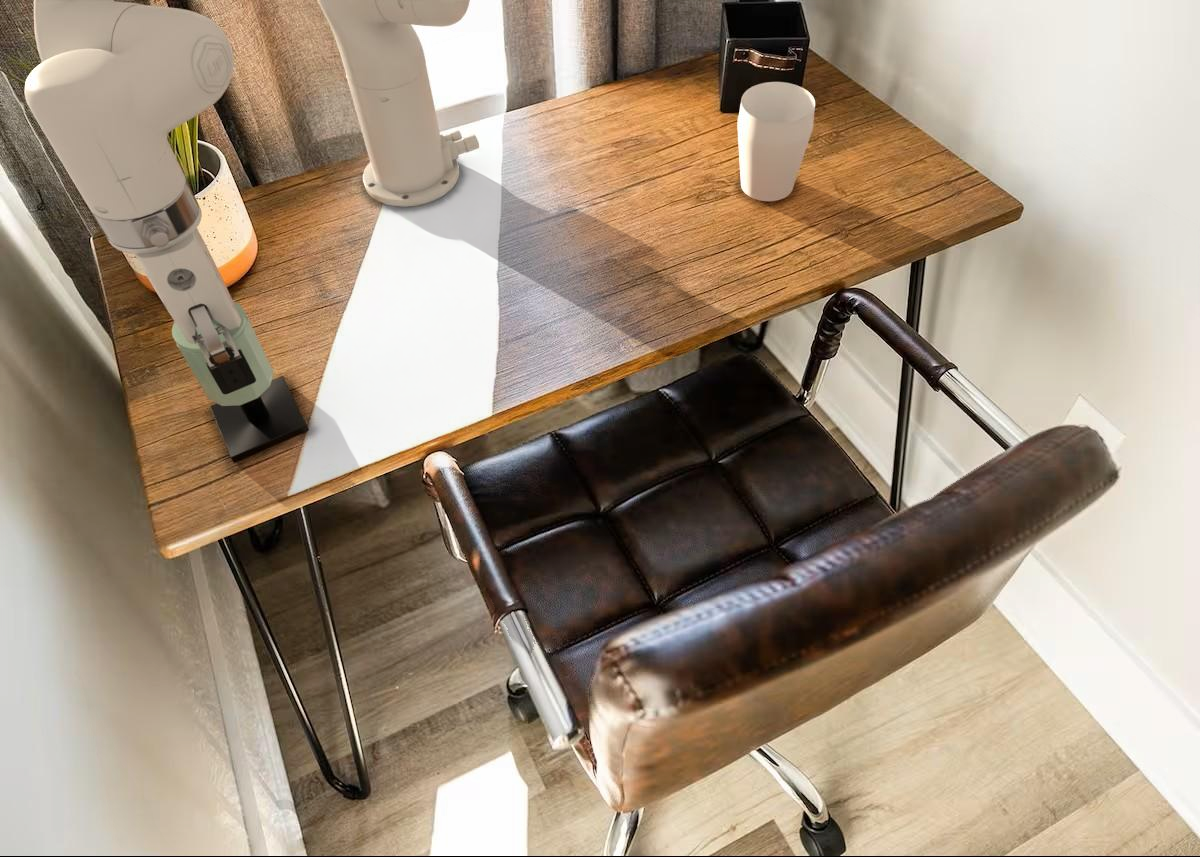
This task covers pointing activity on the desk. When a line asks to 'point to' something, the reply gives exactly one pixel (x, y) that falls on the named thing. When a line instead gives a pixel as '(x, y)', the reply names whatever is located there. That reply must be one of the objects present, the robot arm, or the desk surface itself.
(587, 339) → the desk surface
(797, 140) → the cup
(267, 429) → the peg
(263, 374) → the upturned cup
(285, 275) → the desk surface
